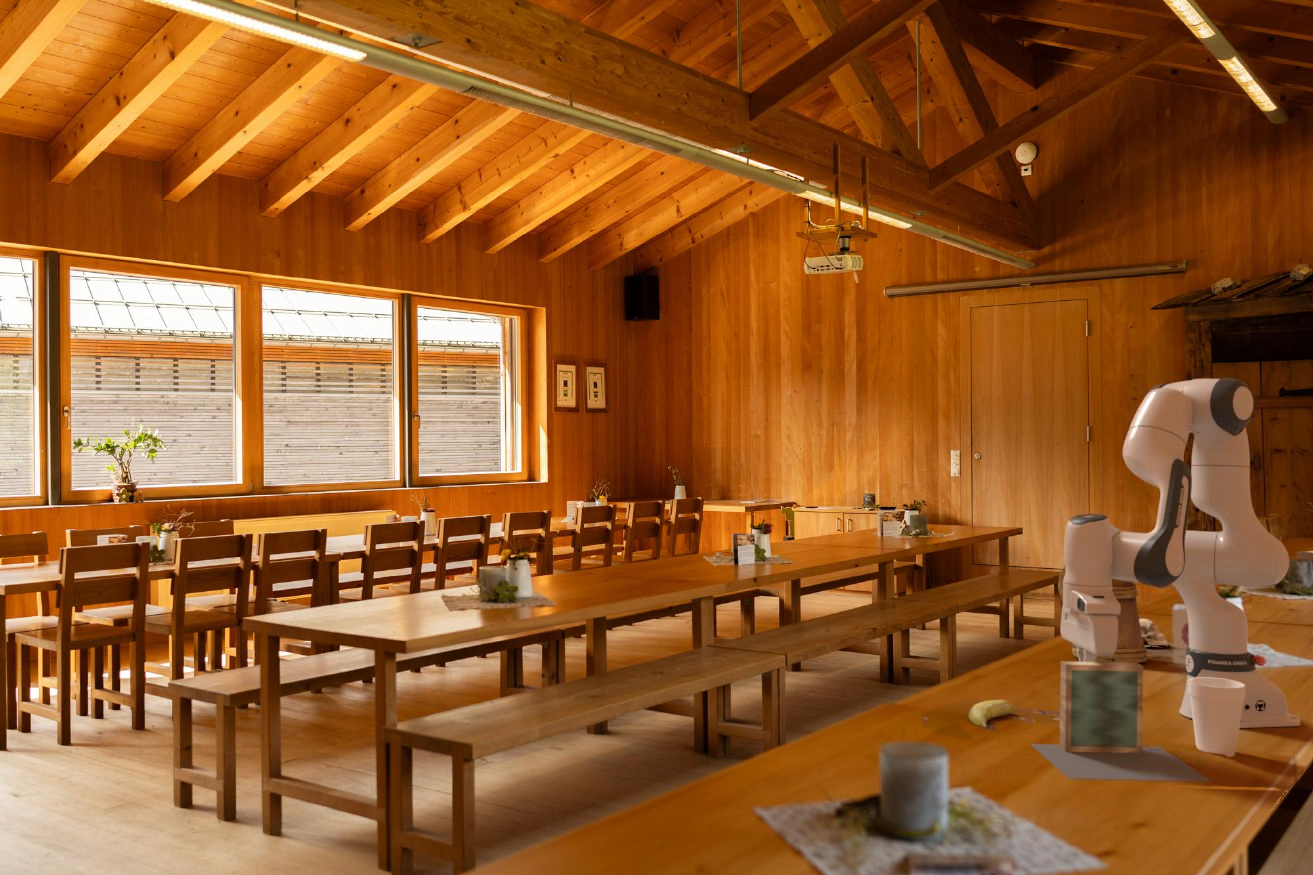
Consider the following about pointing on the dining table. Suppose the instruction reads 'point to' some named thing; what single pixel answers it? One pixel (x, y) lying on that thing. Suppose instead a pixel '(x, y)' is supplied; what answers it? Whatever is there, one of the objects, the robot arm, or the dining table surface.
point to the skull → (1151, 634)
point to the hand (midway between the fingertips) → (1086, 670)
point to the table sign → (1101, 707)
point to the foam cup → (1216, 713)
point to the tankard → (1121, 624)
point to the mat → (1120, 765)
